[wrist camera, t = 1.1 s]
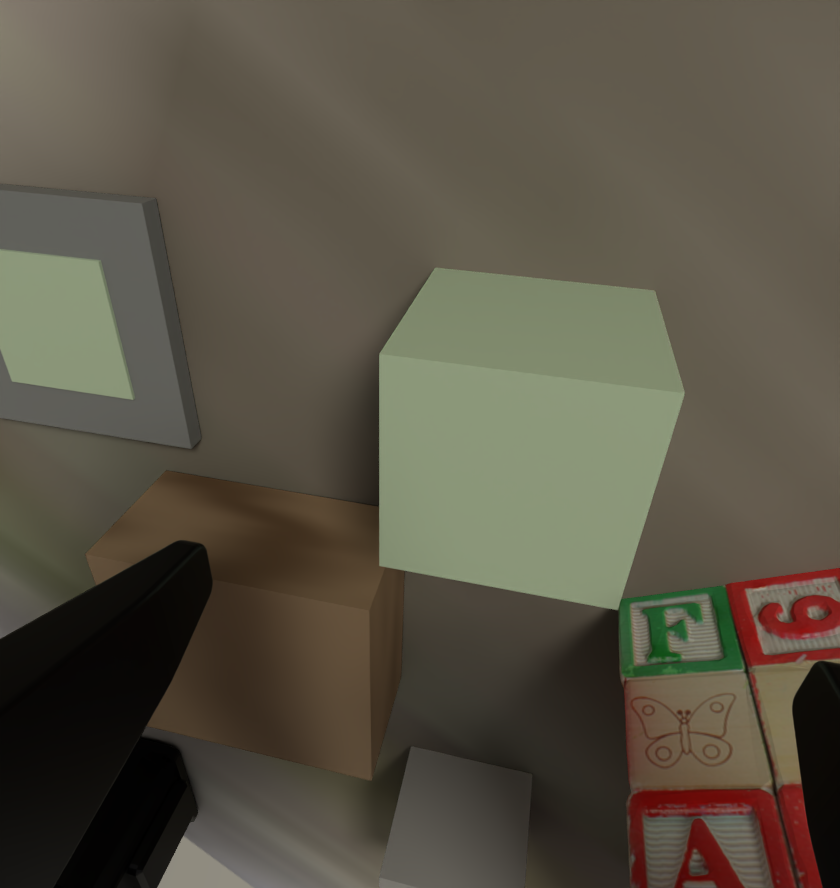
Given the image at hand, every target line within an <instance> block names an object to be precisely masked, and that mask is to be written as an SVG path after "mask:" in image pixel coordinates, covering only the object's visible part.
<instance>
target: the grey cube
mask: <svg viewBox="0 0 840 888" xmlns="http://www.w3.org/2000/svg"><path fill="white" fill-rule="evenodd" d="M531 788H532V774H529V773H525V772H521V771H517V770H512V769H508V768H504V767H499V766H495V765H491V764H486V763H482V762H478V761H473V760H469V759H465V758H461V757H456V756H452V755H448V754H443V753H439V752H435V751H430V750H426V749H422V748H417V747H413V746H411V749H410V753H409V757H408V761H407V765H406V769H405V773H404V777H403V782H402V786H401V790H400V794H399V798H398V802H397V806H396V810H395V815H394V819H393V823H392V827H391V831H390V835H389V839H388V843H387V848H386V852H385V856H384V860H383V864H382V868H381V872H380V876H379V888H525V877H526V863H527V848H528V833H529V818H530V803H531Z"/></svg>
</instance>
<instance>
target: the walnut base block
mask: <svg viewBox="0 0 840 888" xmlns="http://www.w3.org/2000/svg"><path fill="white" fill-rule="evenodd" d="M178 540H186V541H192V542H197V543H201V544H203V545H204V546H205V547H206V549H207V553H208V558H209V563H210V568H211V573H212V578H213V587H212V592H211V595H210V597H209V600H208V602H207V604H206V606H205V609H204V611H203V613H202V615H201V618H200V620H199V622H198V624H197V627H196V629H195V631H194V633H193V636H192V638H191V640H190V642H189V645H188V647H187V649H186V651H185V654H184V656H183V658H182V660H181V663H180V665H179V667H178V669H177V671H176V673H175V676H174V678H173V680H172V682H171V684H170V685H169V687H168V689H167V691H166V693H165V695H164V696H163V698H162V700H161V702H160V703H159V705H158V707H157V708H156V710H155V712H154V714H153V715H152V717H151V719H150V721H149V722H148V724H147V726H148V727H152V728H156V729H161V730H165V731H169V732H173V733H177V734H181V735H185V736H189V737H193V738H197V739H202V740H206V741H210V742H214V743H218V744H222V745H226V746H230V747H234V748H238V749H243V750H247V751H251V752H255V753H259V754H263V755H267V756H271V757H275V758H279V759H284V760H288V761H292V762H296V763H300V764H304V765H308V766H312V767H316V768H320V769H325V770H329V771H333V772H337V773H341V774H345V775H349V776H353V777H357V778H362V779H366V780H370V781H372V777H373V774H374V770H375V767H376V763H377V760H378V756H379V753H380V749H381V746H382V742H383V739H384V735H385V732H386V728H387V725H388V721H389V718H390V714H391V711H392V707H393V704H394V700H395V697H396V693H397V690H398V686H399V683H400V679H401V668H402V636H403V604H404V572H405V571H404V570H398V569H393V568H388V567H382V566H379V507H378V506H372V505H366V504H360V503H355V502H349V501H343V500H337V499H331V498H325V497H319V496H313V495H307V494H302V493H296V492H290V491H284V490H278V489H272V488H266V487H260V486H255V485H249V484H243V483H237V482H231V481H225V480H219V479H213V478H208V477H202V476H196V475H190V474H184V473H178V472H172V471H165V472H164V473H163V474H162V475H161V476H160V477H159V478H158V479H157V481H156V482H155V483H154V484H153V485H152V486H151V487H150V488H149V489H148V490H147V491H146V492H145V493H144V494H143V495H142V496H141V497H140V498H139V499H138V500H137V501H136V502H135V503H134V504H133V505H132V506H131V507H130V508H129V509H128V510H127V511H126V512H125V514H124V515H123V516H122V517H121V518H120V519H119V520H118V521H117V522H116V523H115V524H114V525H113V526H112V527H111V528H110V529H109V530H108V531H107V532H106V533H105V534H104V535H103V536H102V537H101V538H100V539H99V540H98V541H97V542H96V543H95V544H94V545H93V547H92V548H91V549H90V550H89V551H88V552H87V553H86V554H85V556H86V558H87V561H88V564H89V567H90V570H91V572H92V575H93V578H94V581H95V584H96V585H98V584H100V583H101V582H103V581H105V580H107V579H109V578H110V577H112V576H114V575H116V574H118V573H119V572H121V571H123V570H125V569H127V568H128V567H130V566H132V565H134V564H135V563H137V562H139V561H141V560H143V559H144V558H146V557H148V556H150V555H152V554H153V553H155V552H157V551H159V550H161V549H162V548H164V547H166V546H168V545H170V544H171V543H173V542H175V541H178Z"/></svg>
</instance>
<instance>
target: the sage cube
mask: <svg viewBox="0 0 840 888" xmlns="http://www.w3.org/2000/svg"><path fill="white" fill-rule="evenodd" d="M684 395H685V392H684V389H683V385H682V382H681V378H680V375H679V371H678V368H677V365H676V361H675V358H674V354H673V351H672V347H671V344H670V341H669V337H668V334H667V330H666V327H665V324H664V320H663V317H662V313H661V310H660V306H659V303H658V300H657V296H656V293H655V291H653V290H644V289H634V288H625V287H615V286H606V285H596V284H587V283H577V282H568V281H558V280H548V279H539V278H529V277H520V276H510V275H501V274H491V273H482V272H472V271H463V270H453V269H443V268H435V269H434V270H433V272H432V273H431V275H430V276H429V278H428V280H427V281H426V283H425V284H424V286H423V287H422V289H421V290H420V292H419V293H418V295H417V296H416V298H415V300H414V301H413V303H412V304H411V306H410V307H409V309H408V310H407V312H406V313H405V315H404V317H403V318H402V320H401V321H400V323H399V324H398V326H397V327H396V329H395V330H394V332H393V334H392V335H391V337H390V338H389V340H388V341H387V343H386V344H385V346H384V347H383V349H382V351H381V352H380V354H379V566H382V567H388V568H393V569H398V570H404V571H409V572H415V573H420V574H425V575H431V576H436V577H442V578H447V579H452V580H458V581H463V582H469V583H474V584H479V585H485V586H490V587H495V588H501V589H506V590H512V591H517V592H522V593H528V594H533V595H539V596H544V597H549V598H555V599H560V600H566V601H571V602H576V603H582V604H587V605H592V606H598V607H603V608H609V609H614V610H618V608H619V604H620V601H621V598H622V595H623V591H624V588H625V585H626V582H627V578H628V575H629V572H630V569H631V566H632V562H633V559H634V556H635V553H636V549H637V546H638V543H639V540H640V537H641V533H642V530H643V527H644V524H645V520H646V517H647V514H648V511H649V508H650V504H651V501H652V498H653V495H654V491H655V488H656V485H657V482H658V479H659V475H660V472H661V469H662V466H663V462H664V459H665V456H666V453H667V450H668V446H669V443H670V440H671V437H672V433H673V430H674V427H675V424H676V421H677V417H678V414H679V411H680V408H681V404H682V401H683V398H684Z"/></svg>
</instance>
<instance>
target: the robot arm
mask: <svg viewBox="0 0 840 888" xmlns="http://www.w3.org/2000/svg"><path fill="white" fill-rule="evenodd" d="M212 587H213V578H212V573H211V568H210V563H209V558H208V553H207V549H206V547H205V546H204V545H203V544H201V543H197V542H192V541H186V540H178V541H175V542H173V543H171V544H170V545H168V546H166V547H164V548H162V549H161V550H159V551H157V552H155V553H153V554H152V555H150V556H148V557H146V558H144V559H143V560H141V561H139V562H137V563H135V564H134V565H132V566H130V567H128V568H127V569H125V570H123V571H121V572H119V573H118V574H116V575H114V576H112V577H110V578H109V579H107V580H105V581H103V582H101V583H100V584H98V585H96V586H94V587H92V588H91V589H89V590H87V591H85V592H84V593H82V594H80V595H78V596H76V597H75V598H73V599H71V600H69V601H67V602H66V603H64V604H62V605H60V606H58V607H57V608H55V609H53V610H51V611H49V612H48V613H46V614H44V615H42V616H41V617H39V618H37V619H35V620H33V621H32V622H30V623H28V624H26V625H24V626H23V627H21V628H19V629H17V630H15V631H14V632H12V633H10V634H8V635H6V636H5V637H3V638H1V639H0V888H157V887H158V885H159V883H160V881H161V879H162V877H163V875H164V873H165V871H166V869H167V867H168V865H169V863H170V861H171V859H172V857H173V855H174V853H175V851H176V849H177V847H178V845H179V843H180V841H181V839H182V837H183V835H184V833H185V831H186V829H187V827H188V825H189V823H190V822H194V821H195V819H196V817H197V815H198V809H197V806H196V803H195V800H194V796H193V793H192V790H191V787H190V784H189V781H188V778H187V774H186V771H185V768H184V765H183V762H182V759H181V756H180V753H179V751H178V750H176V749H175V748H173V747H171V746H168V745H164V744H160V743H156V742H152V741H148V740H144V739H140V736H141V735H142V733H143V731H144V729H145V728H146V726H147V724H148V722H149V721H150V719H151V717H152V715H153V714H154V712H155V710H156V708H157V707H158V705H159V703H160V702H161V700H162V698H163V696H164V695H165V693H166V691H167V689H168V687H169V685H170V684H171V682H172V680H173V678H174V676H175V673H176V671H177V669H178V667H179V665H180V663H181V660H182V658H183V656H184V654H185V651H186V649H187V647H188V645H189V642H190V640H191V638H192V636H193V633H194V631H195V629H196V627H197V624H198V622H199V620H200V618H201V615H202V613H203V611H204V609H205V606H206V604H207V602H208V600H209V597H210V595H211V592H212ZM792 716H793V723H794V731H795V738H796V746H797V753H798V761H799V768H800V776H801V783H802V791H803V798H804V806H805V812H806V818H807V824H808V829H809V834H810V838H811V843H812V847H813V851H814V855H815V859H816V864H817V868H818V872H819V876H820V880H821V884H822V888H840V664H839V663H834V662H828V661H818V662H816V663H814V665H813V666H812V667H811V669H810V671H809V672H808V674H807V676H806V677H805V679H804V680H803V682H802V684H801V685H800V687H799V689H798V690H797V692H796V694H795V696H794V699H793V703H792Z"/></svg>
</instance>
